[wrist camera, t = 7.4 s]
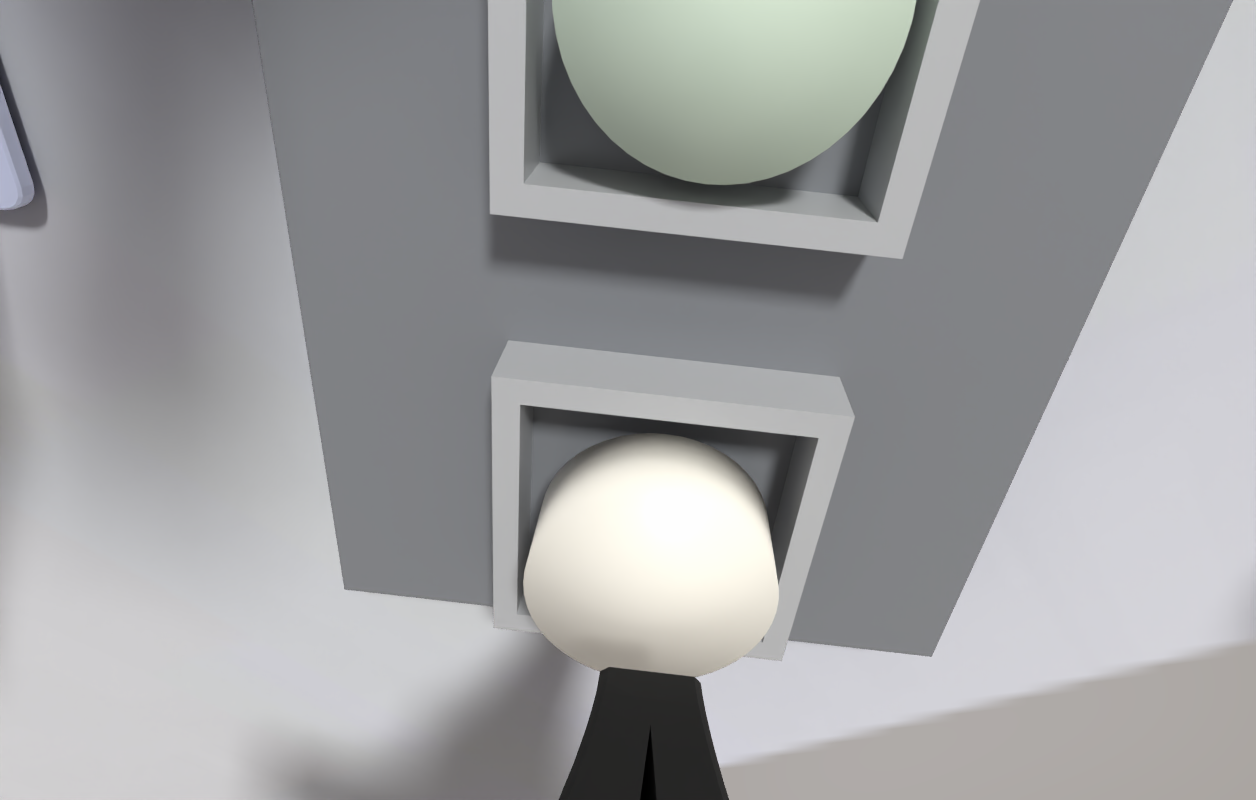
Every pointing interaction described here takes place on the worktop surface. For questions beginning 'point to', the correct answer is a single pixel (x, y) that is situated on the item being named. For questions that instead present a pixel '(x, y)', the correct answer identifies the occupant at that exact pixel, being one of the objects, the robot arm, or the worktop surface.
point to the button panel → (704, 288)
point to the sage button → (729, 77)
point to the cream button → (652, 558)
